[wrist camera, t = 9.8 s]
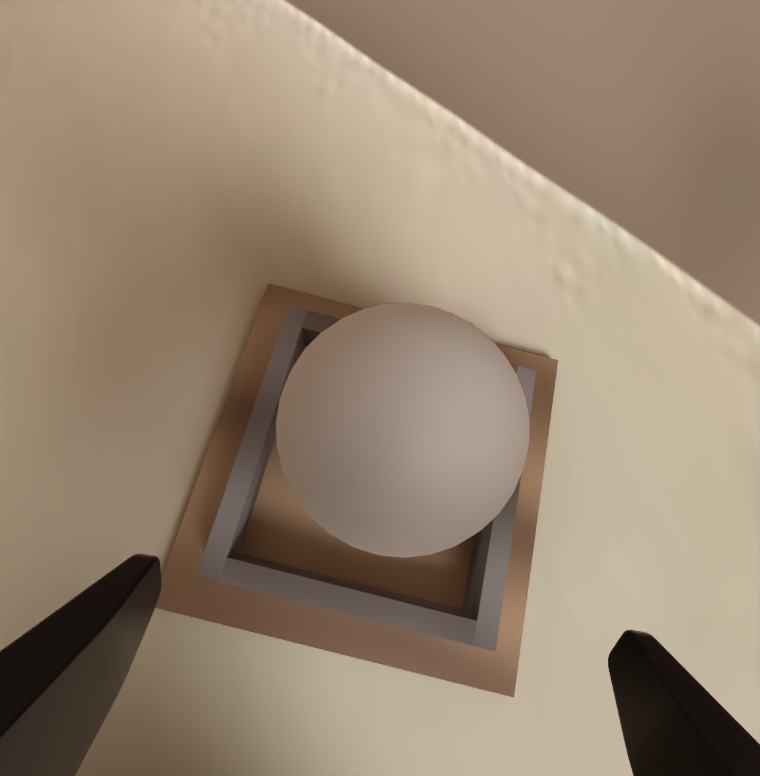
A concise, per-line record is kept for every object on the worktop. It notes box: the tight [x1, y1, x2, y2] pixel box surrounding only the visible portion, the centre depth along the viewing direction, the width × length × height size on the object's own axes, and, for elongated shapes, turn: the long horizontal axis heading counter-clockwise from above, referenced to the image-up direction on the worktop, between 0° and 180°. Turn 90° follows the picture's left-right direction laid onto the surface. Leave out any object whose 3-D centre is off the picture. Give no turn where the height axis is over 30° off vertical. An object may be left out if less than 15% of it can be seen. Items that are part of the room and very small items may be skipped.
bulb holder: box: [155, 284, 558, 697], centre depth 18 cm, size 14×14×2 cm
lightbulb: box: [276, 303, 529, 558], centre depth 14 cm, size 6×6×11 cm
